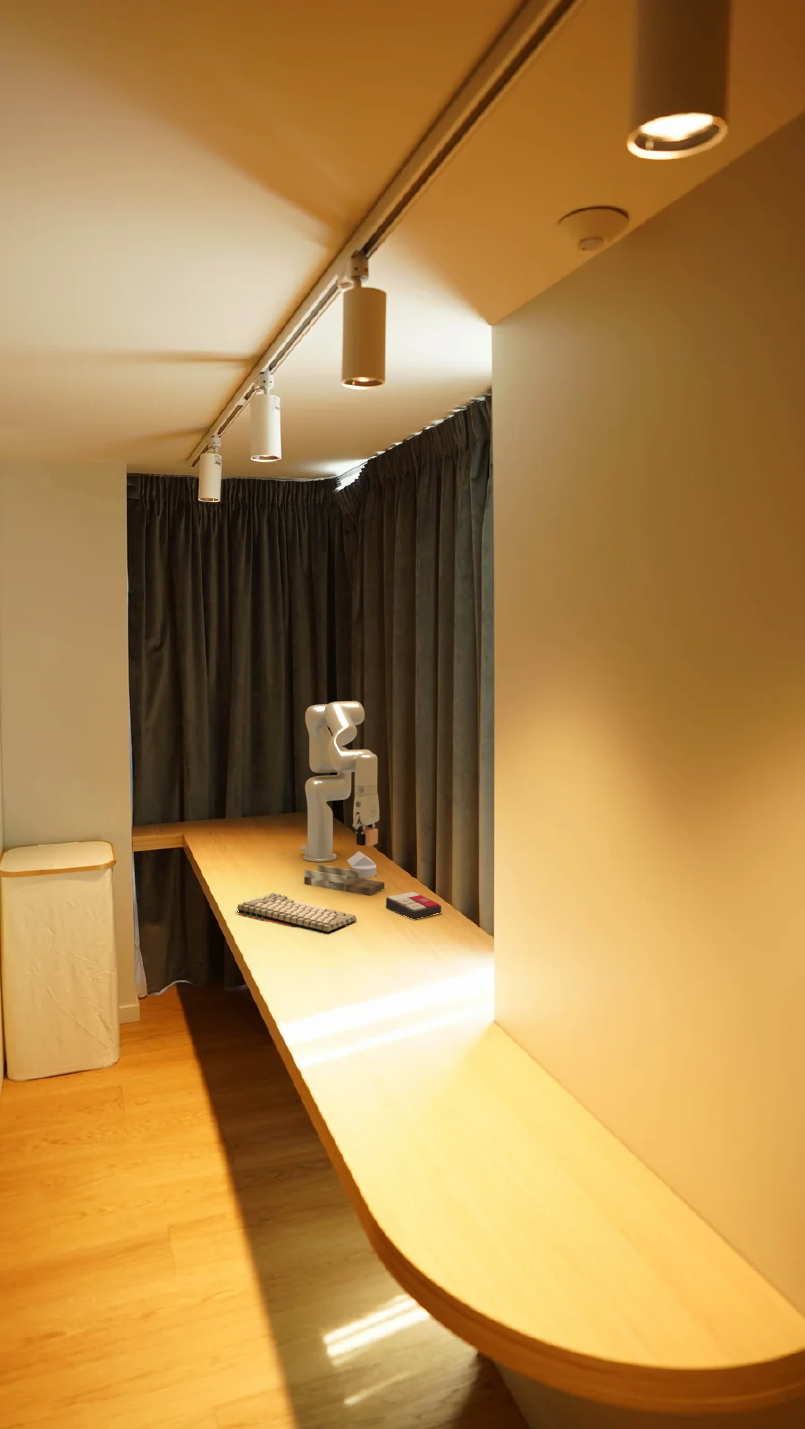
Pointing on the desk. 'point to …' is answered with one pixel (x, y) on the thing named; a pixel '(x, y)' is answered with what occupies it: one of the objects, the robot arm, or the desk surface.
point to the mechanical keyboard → (295, 914)
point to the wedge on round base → (362, 865)
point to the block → (371, 836)
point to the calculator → (412, 905)
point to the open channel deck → (341, 880)
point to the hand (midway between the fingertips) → (365, 842)
